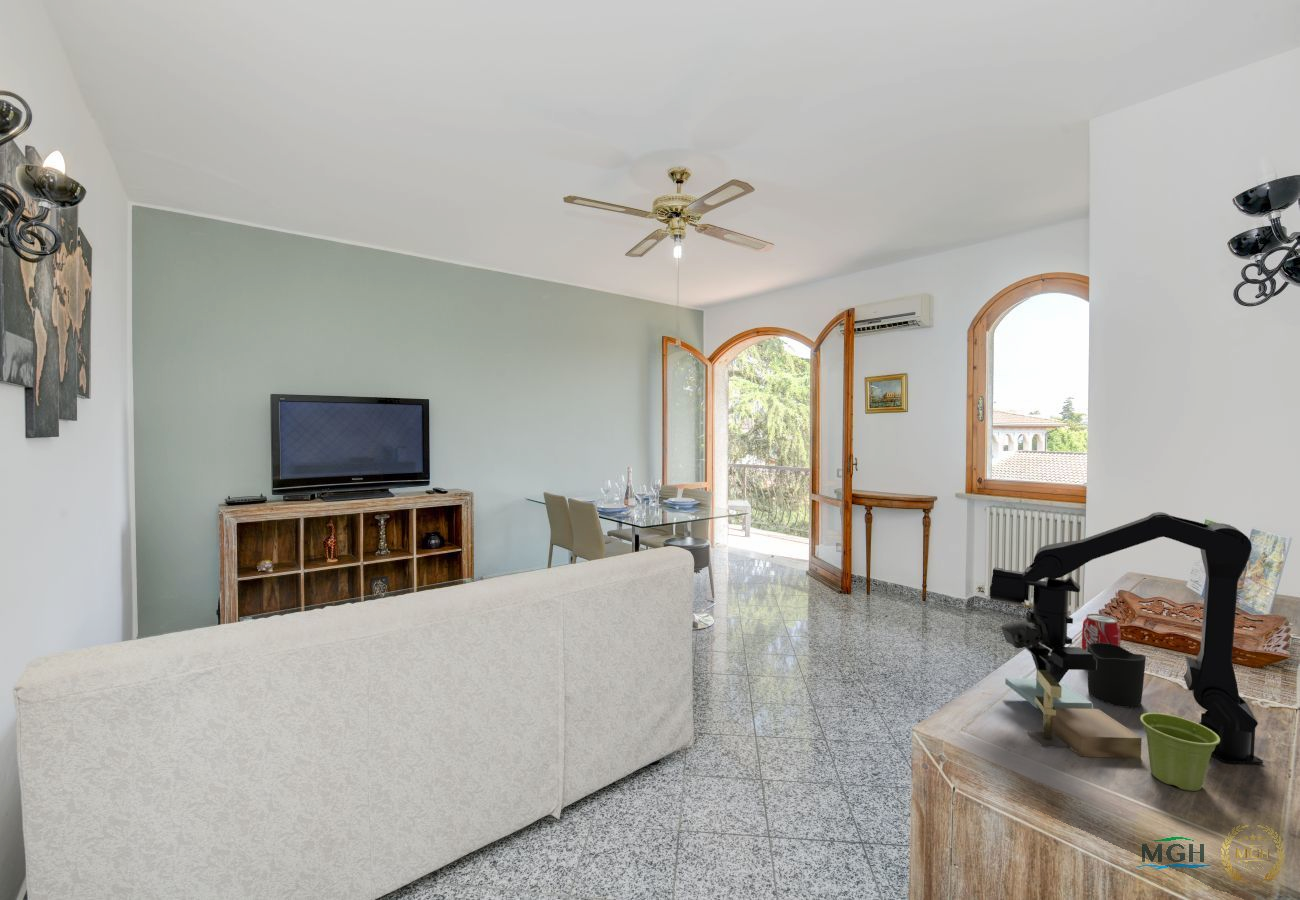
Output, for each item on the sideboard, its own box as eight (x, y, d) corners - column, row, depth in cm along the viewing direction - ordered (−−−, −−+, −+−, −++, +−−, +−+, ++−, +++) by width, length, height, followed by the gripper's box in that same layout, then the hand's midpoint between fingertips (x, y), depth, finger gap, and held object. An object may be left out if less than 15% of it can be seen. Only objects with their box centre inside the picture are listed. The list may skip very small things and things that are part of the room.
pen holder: (1135, 693, 122) (1137, 647, 121) (1150, 713, 113) (1152, 664, 113) (1081, 684, 126) (1083, 639, 126) (1091, 702, 118) (1093, 655, 117)
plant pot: (1176, 762, 97) (1178, 712, 97) (1234, 798, 88) (1237, 743, 87) (1122, 762, 97) (1125, 712, 96) (1175, 799, 87) (1178, 744, 87)
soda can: (1073, 663, 137) (1075, 614, 136) (1095, 660, 139) (1096, 611, 138) (1104, 676, 130) (1107, 624, 129) (1126, 672, 132) (1128, 621, 131)
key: (1034, 725, 108) (1036, 668, 107) (1045, 727, 107) (1047, 669, 107) (1048, 746, 101) (1050, 685, 100) (1060, 748, 100) (1062, 687, 100)
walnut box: (1097, 727, 108) (1098, 708, 108) (1140, 757, 98) (1141, 738, 98) (1018, 725, 109) (1018, 707, 109) (1052, 755, 99) (1053, 736, 99)
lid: (1056, 684, 120) (1056, 662, 120) (1092, 709, 110) (1093, 685, 110) (1005, 683, 121) (1005, 661, 120) (1036, 708, 110) (1037, 684, 110)
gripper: (983, 594, 124) (981, 665, 125) (1038, 625, 105) (1035, 707, 106) (1036, 595, 124) (1034, 666, 124) (1100, 625, 105) (1097, 709, 106)
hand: (1047, 685), depth 115 cm, fingers closed on lid
